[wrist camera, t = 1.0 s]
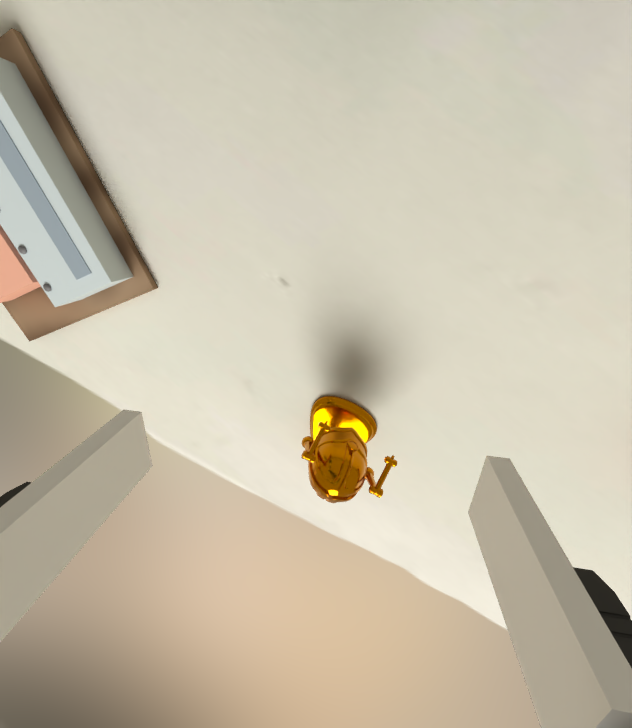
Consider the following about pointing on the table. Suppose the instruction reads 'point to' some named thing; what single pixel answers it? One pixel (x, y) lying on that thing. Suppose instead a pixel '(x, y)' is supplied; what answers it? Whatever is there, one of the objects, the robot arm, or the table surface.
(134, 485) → the robot arm
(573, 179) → the table surface
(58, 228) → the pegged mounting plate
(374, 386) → the table surface
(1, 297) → the stub
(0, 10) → the table surface
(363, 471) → the figurine
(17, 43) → the backing board
